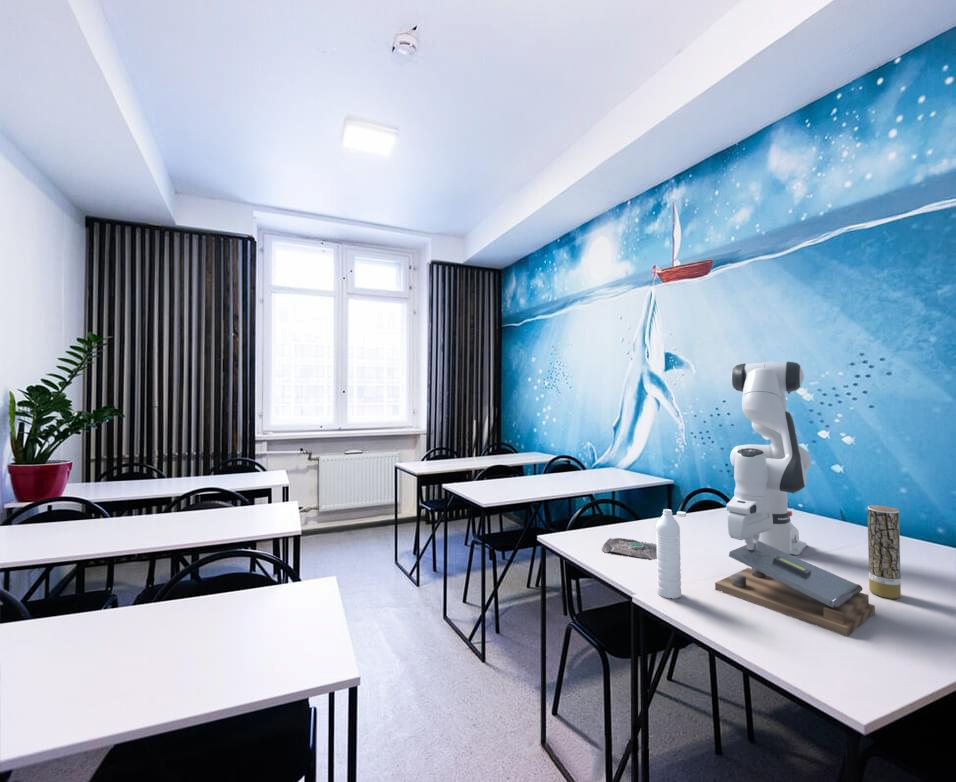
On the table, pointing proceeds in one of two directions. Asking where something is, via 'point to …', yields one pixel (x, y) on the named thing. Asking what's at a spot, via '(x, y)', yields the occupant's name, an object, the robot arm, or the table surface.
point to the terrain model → (630, 548)
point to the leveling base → (796, 601)
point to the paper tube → (884, 551)
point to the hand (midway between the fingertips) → (752, 548)
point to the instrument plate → (798, 574)
